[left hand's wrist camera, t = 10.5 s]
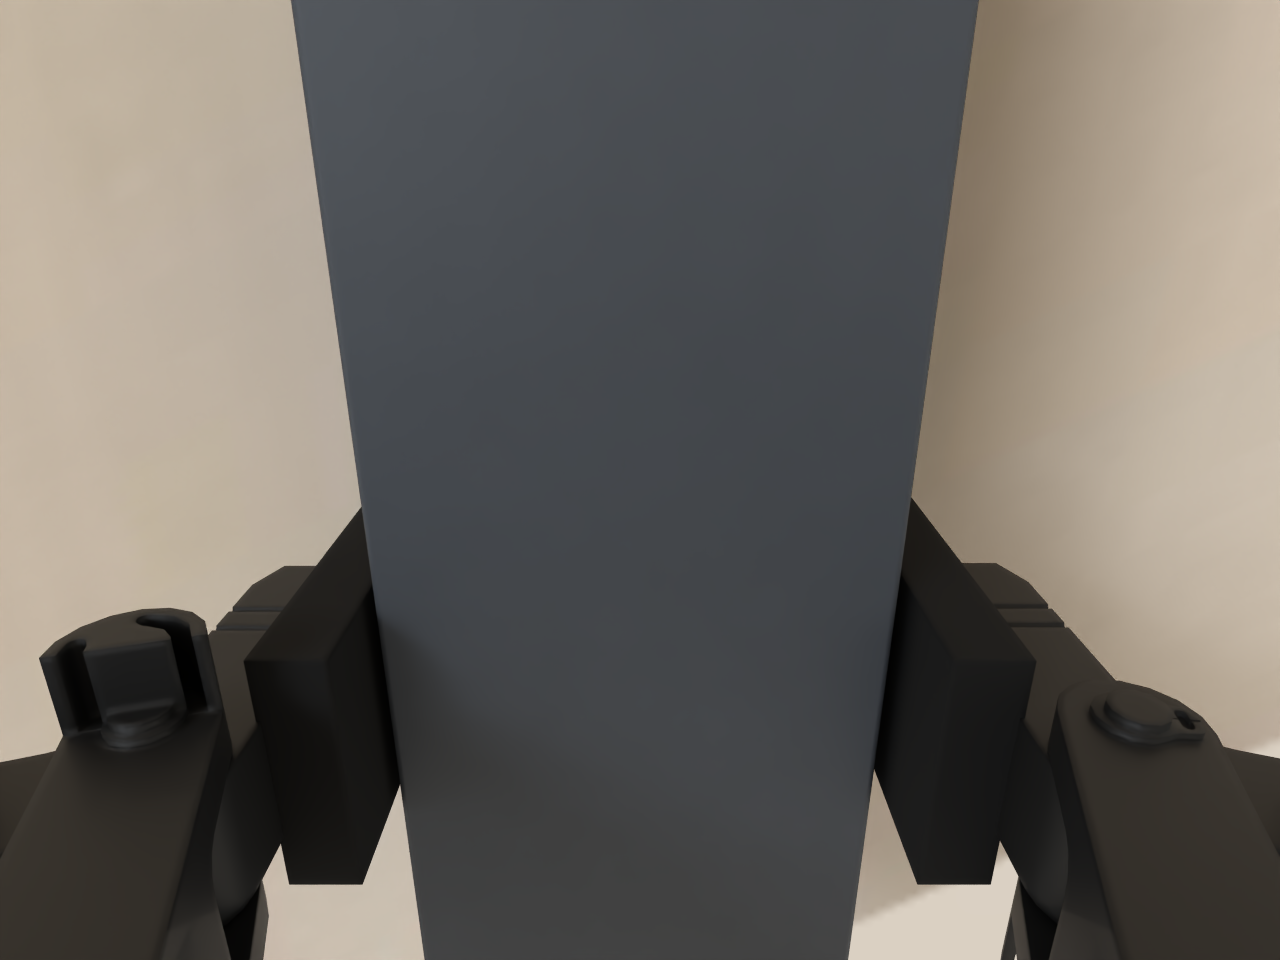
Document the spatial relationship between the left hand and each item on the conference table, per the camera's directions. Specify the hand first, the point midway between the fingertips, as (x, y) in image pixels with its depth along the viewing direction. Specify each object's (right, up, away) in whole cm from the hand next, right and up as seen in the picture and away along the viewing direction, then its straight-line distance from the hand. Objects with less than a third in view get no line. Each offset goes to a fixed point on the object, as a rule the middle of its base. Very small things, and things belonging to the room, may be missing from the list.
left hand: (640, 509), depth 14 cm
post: (0, +20, -6) cm, 21 cm away
